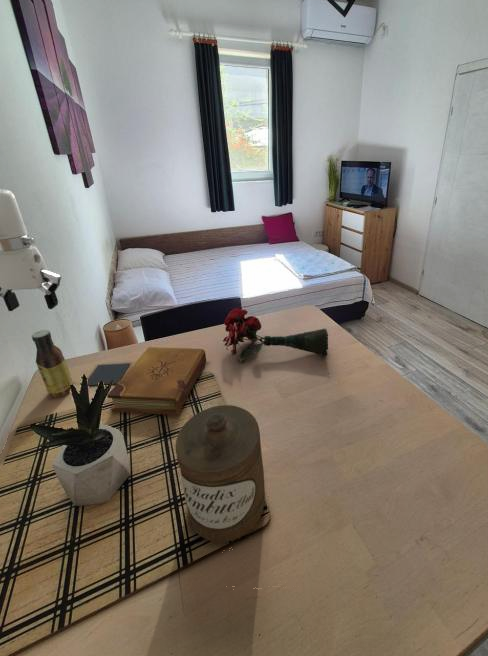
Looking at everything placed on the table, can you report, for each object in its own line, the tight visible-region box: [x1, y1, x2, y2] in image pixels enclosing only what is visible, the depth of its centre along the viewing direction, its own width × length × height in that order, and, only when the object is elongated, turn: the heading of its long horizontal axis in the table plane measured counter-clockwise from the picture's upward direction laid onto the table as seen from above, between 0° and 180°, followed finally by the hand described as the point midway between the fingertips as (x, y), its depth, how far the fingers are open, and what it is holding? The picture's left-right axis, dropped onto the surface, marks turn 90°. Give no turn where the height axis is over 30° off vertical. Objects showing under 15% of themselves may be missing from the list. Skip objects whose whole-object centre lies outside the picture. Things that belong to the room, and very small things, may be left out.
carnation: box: [222, 307, 329, 363], centre depth 111 cm, size 16×18×35 cm
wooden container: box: [175, 404, 266, 544], centre depth 60 cm, size 15×15×22 cm
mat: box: [87, 362, 131, 387], centre depth 101 cm, size 10×10×1 cm
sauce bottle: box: [31, 329, 74, 398], centre depth 91 cm, size 6×6×20 cm
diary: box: [106, 346, 207, 416], centre depth 95 cm, size 23×19×6 cm
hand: (34, 307), depth 84 cm, fingers open, 9 cm apart
